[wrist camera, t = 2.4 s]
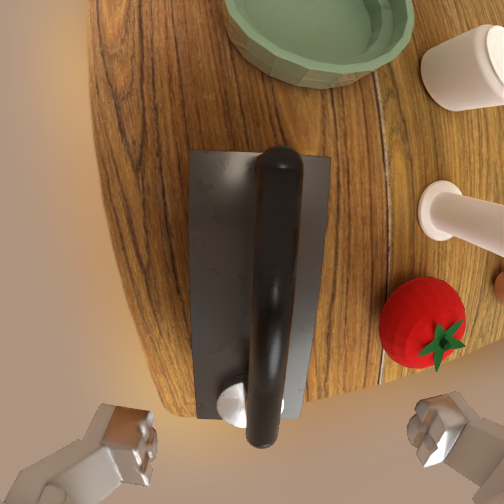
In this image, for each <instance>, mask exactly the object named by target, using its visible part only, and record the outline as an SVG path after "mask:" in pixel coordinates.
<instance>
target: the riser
mask: <svg viewBox="0 0 504 504" xmlns="http://www.w3.org/2000/svg"><path fill="white" fill-rule="evenodd" d="M262 153H264V152H246V151H197V150H191V151H190V161H189V291H190V319H191V340H192V358H193V373H194V387H195V400H196V412H197V418H198V419H217V420H219V419H220V420H223V419H222V418H221V416H220V415H219V413H218V411H217V394H218V391H219V389H220V387H221V386H222V385H223V384H224V383H225V382H226V381H228V380H229V379H231V378H233V377H235V376H238V375H242V374H248V373H249V354H250V332H251V310H252V288H253V265H254V243H255V220H256V197H257V177H256V176H255V175H253V173H252V172H251V169H250V163H251V161H252V159H253V158H254V157H256V156H257V155H260V154H262ZM300 156H301V158H302V160H303V164H304V178H303V195H302V210H301V225H300V238H299V251H298V263H297V275H296V286H295V296H294V306H293V316H292V326H291V335H290V344H289V353H288V362H287V370H286V378H285V386H284V394H283V398H284V409H283V411H282V413H281V416H280V419H297V418H300V414H301V408H302V403H303V397H304V392H305V386H306V380H307V374H308V368H309V362H310V356H311V349H312V342H313V336H314V329H315V321H316V314H317V306H318V298H319V290H320V282H321V273H322V264H323V254H324V244H325V234H326V222H327V210H328V197H329V183H330V166H331V157H323V156H312V155H300Z"/></svg>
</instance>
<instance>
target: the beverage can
mask: <svg viewBox="0 0 504 504" xmlns="http://www.w3.org/2000/svg"><path fill="white" fill-rule="evenodd" d="M421 76H422V80H423V83H424V85H425V87H426V89H427V91H428V93H429V94H430V96H431V97H432V98H433V99H434V101H435V102H437V103H438V104H439V105H440V106H442V107H443V108H445V109H447V110H450V111H462V110H468V109H476V108H483V107H491V106H499V105H504V27H501V26H493V25H481V26H479V27H477V28H474V29H472V30H470V31H467V32H465V33H463V34H461V35H459V36H456V37H454V38H452V39H450V40H448V41H446V42H443V43H441V44H439V45H437V46H435V47H433V48H431V49H429V50H428V51H427V52H426V53H425V54H424V55H423V58H422V60H421Z"/></svg>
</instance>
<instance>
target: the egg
mask: <svg viewBox="0 0 504 504" xmlns="http://www.w3.org/2000/svg"><path fill="white" fill-rule="evenodd" d="M494 291H495V295H496V298H497V299H498V301H499V302H500V303H501V304H502V305H503V306H504V271H502V272H501V273H500V274H499V275H498V277H497V278H496V281H495V285H494Z"/></svg>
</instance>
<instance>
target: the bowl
mask: <svg viewBox="0 0 504 504" xmlns="http://www.w3.org/2000/svg"><path fill="white" fill-rule="evenodd" d="M221 4H222V16H223V20H224V23H225V26H226V29H227V32H228V36H229V39H230V40H231V42H232V43H233V44H234V45H235V47H236V48H237V49H238V50H239V52H240V53H241V54H242V56H243V57H244V58H245V59H246V60H247V61H248V62H250V63H251V64H253V65H254V66H256V67H257V68H258V69H260V70H261V71H262V72H264V73H265V74H267V75H269V76H271V77H273V78H276V79H279V80H281V81H284V82H287V83H289V84H292V85H294V86H299V87H308V88H317V89H328V88H334V87H340V86H347V85H350V84H352V83H354V82H356V81H358V80H360V79H361V78H363V77H365V76H367V75H369V74H371V73H372V72H374V71H376V70H377V69H379V68H381V67H382V66H384V65H386V64H388V63H389V62H391V61H393V60H395V59H396V57H397V56H398V55H399V54H400V53H401V52H402V50H403V49H404V48H405V47H406V46H407V44H408V43H409V41H410V37H411V34H412V30H413V26H414V21H415V19H414V12H413V5H412V0H221Z"/></svg>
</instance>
